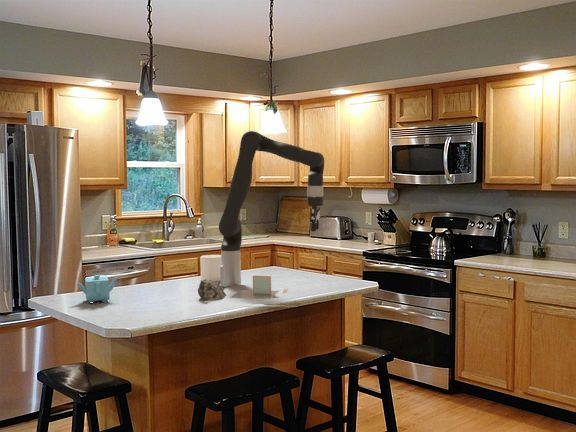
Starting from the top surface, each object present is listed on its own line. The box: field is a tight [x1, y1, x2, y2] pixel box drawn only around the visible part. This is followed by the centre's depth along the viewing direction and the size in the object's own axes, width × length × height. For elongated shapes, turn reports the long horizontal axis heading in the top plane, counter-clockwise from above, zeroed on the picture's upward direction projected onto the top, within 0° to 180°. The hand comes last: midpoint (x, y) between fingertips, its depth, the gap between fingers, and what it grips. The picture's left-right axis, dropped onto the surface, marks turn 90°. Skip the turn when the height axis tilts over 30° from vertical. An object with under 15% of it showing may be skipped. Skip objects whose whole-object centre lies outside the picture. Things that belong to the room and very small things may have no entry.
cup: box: [199, 254, 222, 282], centre depth 327 cm, size 12×12×12 cm
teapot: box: [76, 274, 120, 303], centre depth 275 cm, size 16×18×11 cm
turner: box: [281, 288, 289, 294], centre depth 285 cm, size 16×4×1 cm, turn 173°
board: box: [229, 289, 280, 300], centre depth 282 cm, size 18×18×1 cm
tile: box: [252, 274, 272, 294], centre depth 282 cm, size 8×2×8 cm, turn 78°
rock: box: [197, 279, 227, 301], centre depth 277 cm, size 13×10×10 cm
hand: (314, 230), depth 297 cm, fingers open, 8 cm apart
